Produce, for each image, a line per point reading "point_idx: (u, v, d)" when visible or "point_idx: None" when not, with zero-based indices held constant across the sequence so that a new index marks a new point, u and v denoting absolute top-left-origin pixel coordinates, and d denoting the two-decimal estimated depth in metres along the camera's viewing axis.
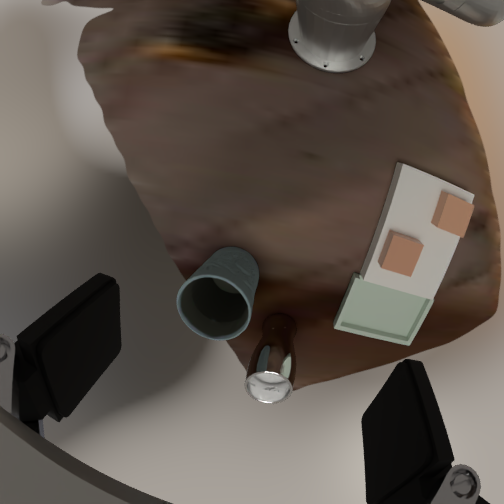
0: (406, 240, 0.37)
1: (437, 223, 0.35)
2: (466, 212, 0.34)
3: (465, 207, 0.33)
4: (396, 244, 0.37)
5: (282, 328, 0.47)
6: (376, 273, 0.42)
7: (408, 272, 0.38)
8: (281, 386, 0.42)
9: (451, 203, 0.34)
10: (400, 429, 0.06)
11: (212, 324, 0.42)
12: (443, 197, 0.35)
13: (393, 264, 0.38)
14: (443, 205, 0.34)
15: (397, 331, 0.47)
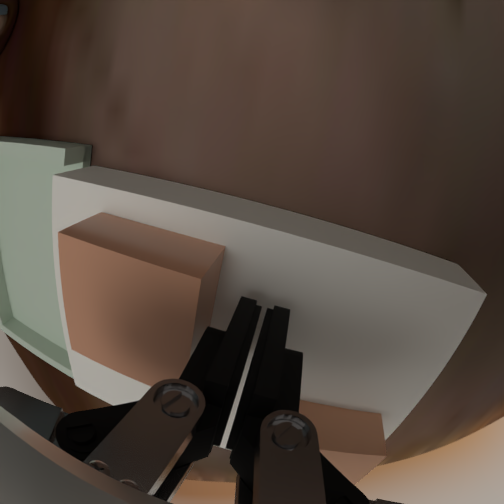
0: (186, 338, 0.08)
1: None
2: None
3: None
4: (159, 294, 0.08)
5: None
6: (77, 218, 0.11)
7: (78, 342, 0.10)
8: None
9: (354, 465, 0.10)
10: (249, 368, 0.08)
11: None
12: (368, 434, 0.10)
13: (81, 285, 0.09)
14: (348, 445, 0.10)
15: (12, 297, 0.17)
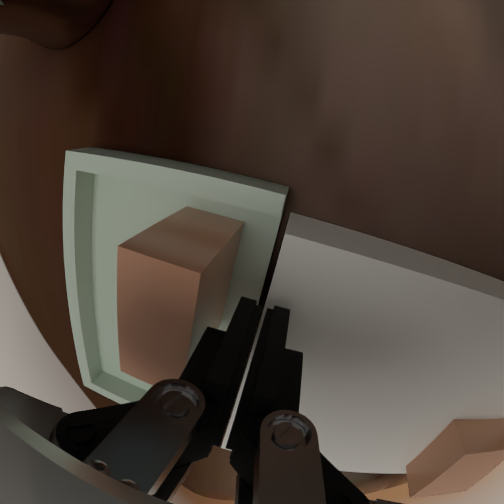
0: None
1: (469, 449, 0.09)
2: (462, 485, 0.10)
3: (472, 481, 0.10)
4: None
5: None
6: (320, 290, 0.10)
7: None
8: None
9: (497, 459, 0.09)
10: (249, 368, 0.08)
11: None
12: None
13: None
14: (499, 445, 0.09)
15: (106, 351, 0.17)
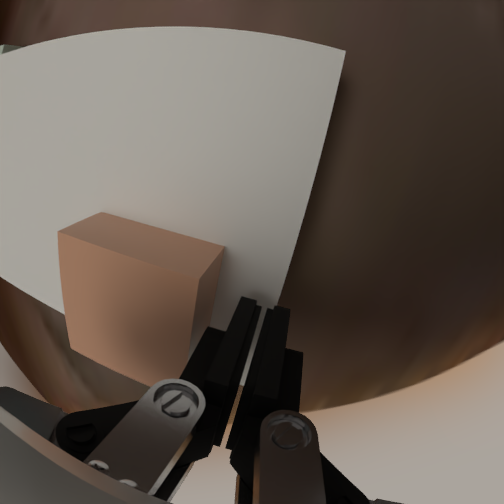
0: None
1: (74, 232, 0.08)
2: (147, 366, 0.09)
3: (163, 364, 0.09)
4: None
5: None
6: None
7: None
8: None
9: (159, 298, 0.08)
10: (249, 368, 0.08)
11: None
12: (186, 254, 0.09)
13: None
14: (143, 254, 0.08)
15: None
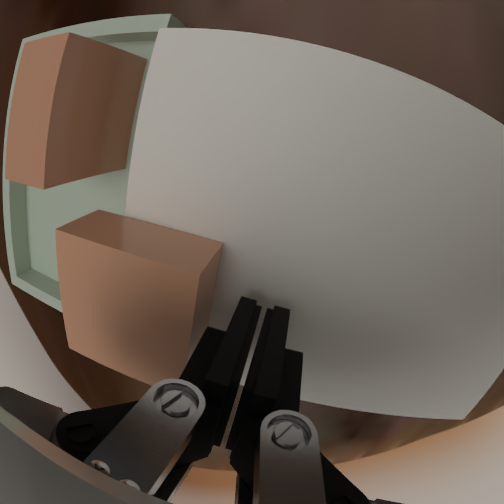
0: None
1: (72, 229, 0.08)
2: (146, 364, 0.09)
3: (163, 361, 0.09)
4: None
5: None
6: (192, 71, 0.08)
7: None
8: None
9: (160, 295, 0.08)
10: (249, 368, 0.08)
11: None
12: (186, 250, 0.09)
13: None
14: (143, 250, 0.08)
15: (34, 238, 0.15)
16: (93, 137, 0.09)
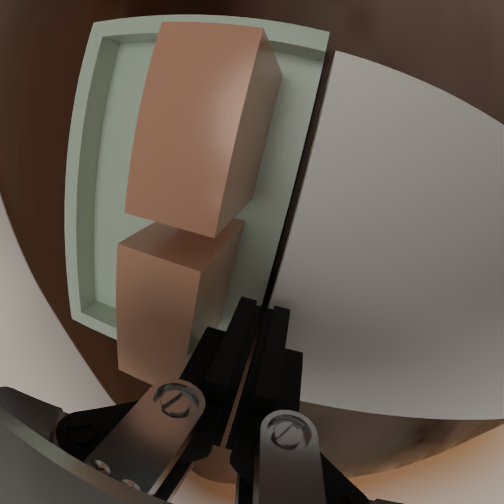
0: None
1: None
2: None
3: None
4: None
5: None
6: (378, 113, 0.08)
7: None
8: None
9: None
10: (249, 368, 0.08)
11: None
12: (166, 245, 0.08)
13: None
14: (159, 228, 0.09)
15: (103, 268, 0.14)
16: (247, 166, 0.09)
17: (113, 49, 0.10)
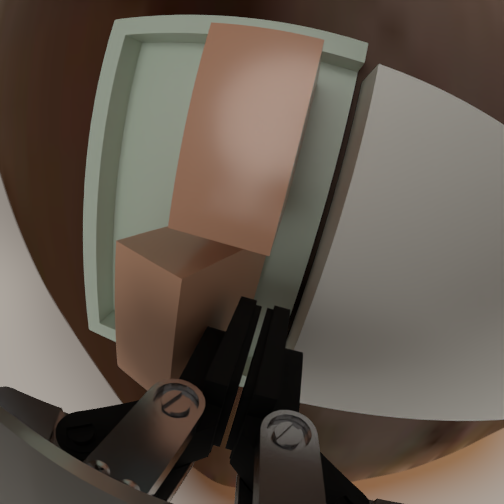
0: None
1: None
2: None
3: None
4: None
5: None
6: (418, 129, 0.07)
7: None
8: None
9: None
10: (249, 368, 0.08)
11: None
12: (163, 248, 0.08)
13: None
14: (168, 232, 0.09)
15: None
16: (291, 178, 0.08)
17: (135, 48, 0.10)
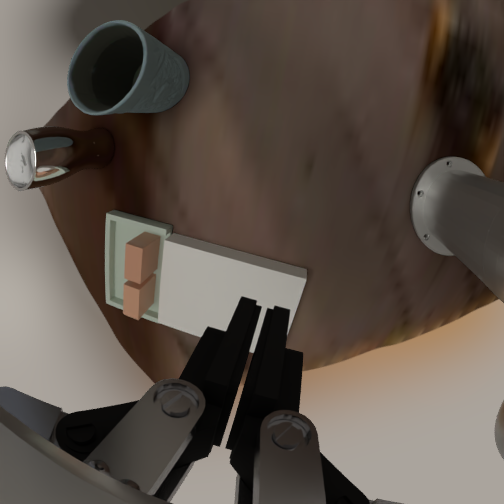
0: None
1: None
2: None
3: None
4: None
5: (95, 153, 0.33)
6: (174, 254, 0.37)
7: None
8: (27, 173, 0.27)
9: None
10: (249, 368, 0.08)
11: (88, 70, 0.24)
12: (133, 284, 0.38)
13: None
14: None
15: (117, 285, 0.44)
16: (149, 266, 0.38)
17: (114, 220, 0.39)
